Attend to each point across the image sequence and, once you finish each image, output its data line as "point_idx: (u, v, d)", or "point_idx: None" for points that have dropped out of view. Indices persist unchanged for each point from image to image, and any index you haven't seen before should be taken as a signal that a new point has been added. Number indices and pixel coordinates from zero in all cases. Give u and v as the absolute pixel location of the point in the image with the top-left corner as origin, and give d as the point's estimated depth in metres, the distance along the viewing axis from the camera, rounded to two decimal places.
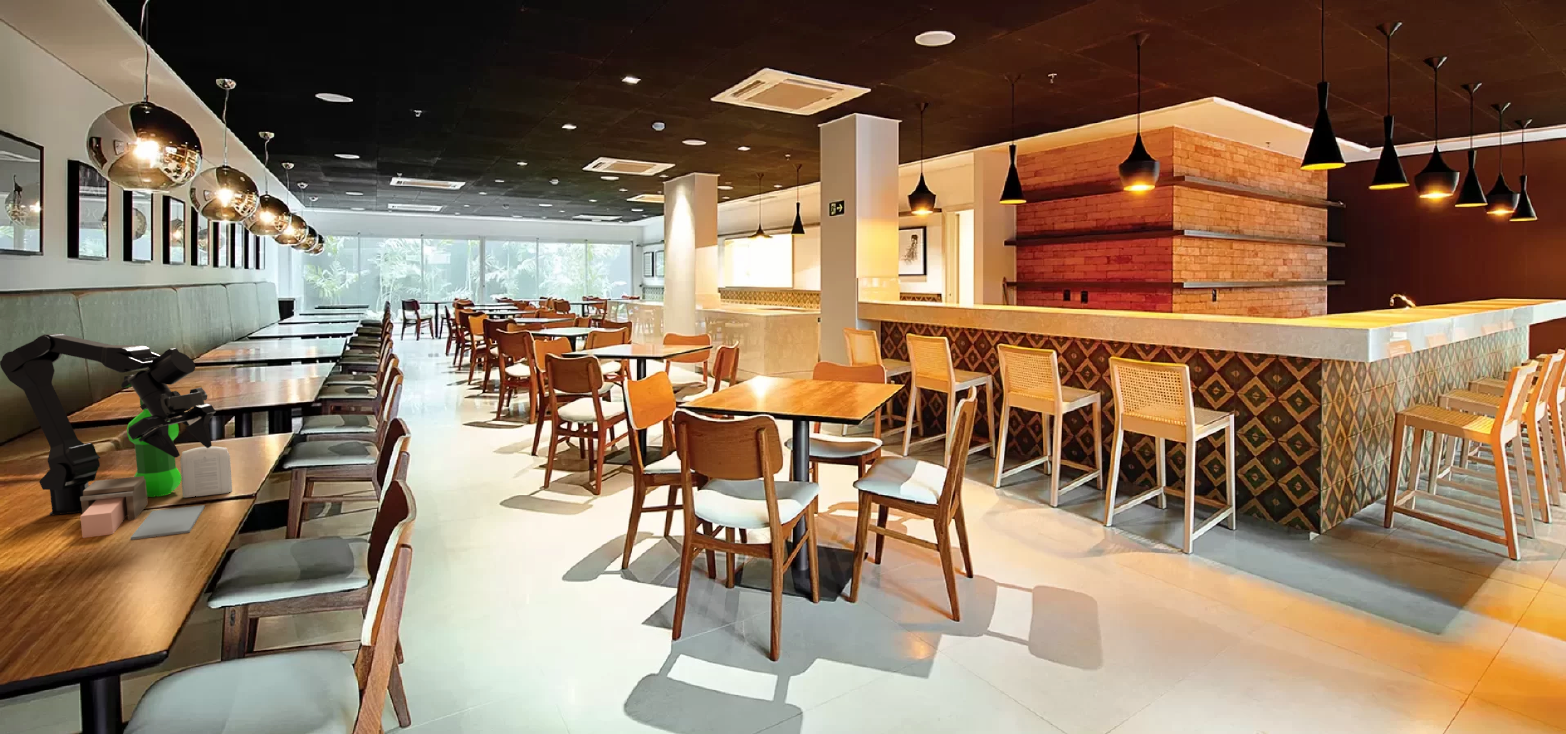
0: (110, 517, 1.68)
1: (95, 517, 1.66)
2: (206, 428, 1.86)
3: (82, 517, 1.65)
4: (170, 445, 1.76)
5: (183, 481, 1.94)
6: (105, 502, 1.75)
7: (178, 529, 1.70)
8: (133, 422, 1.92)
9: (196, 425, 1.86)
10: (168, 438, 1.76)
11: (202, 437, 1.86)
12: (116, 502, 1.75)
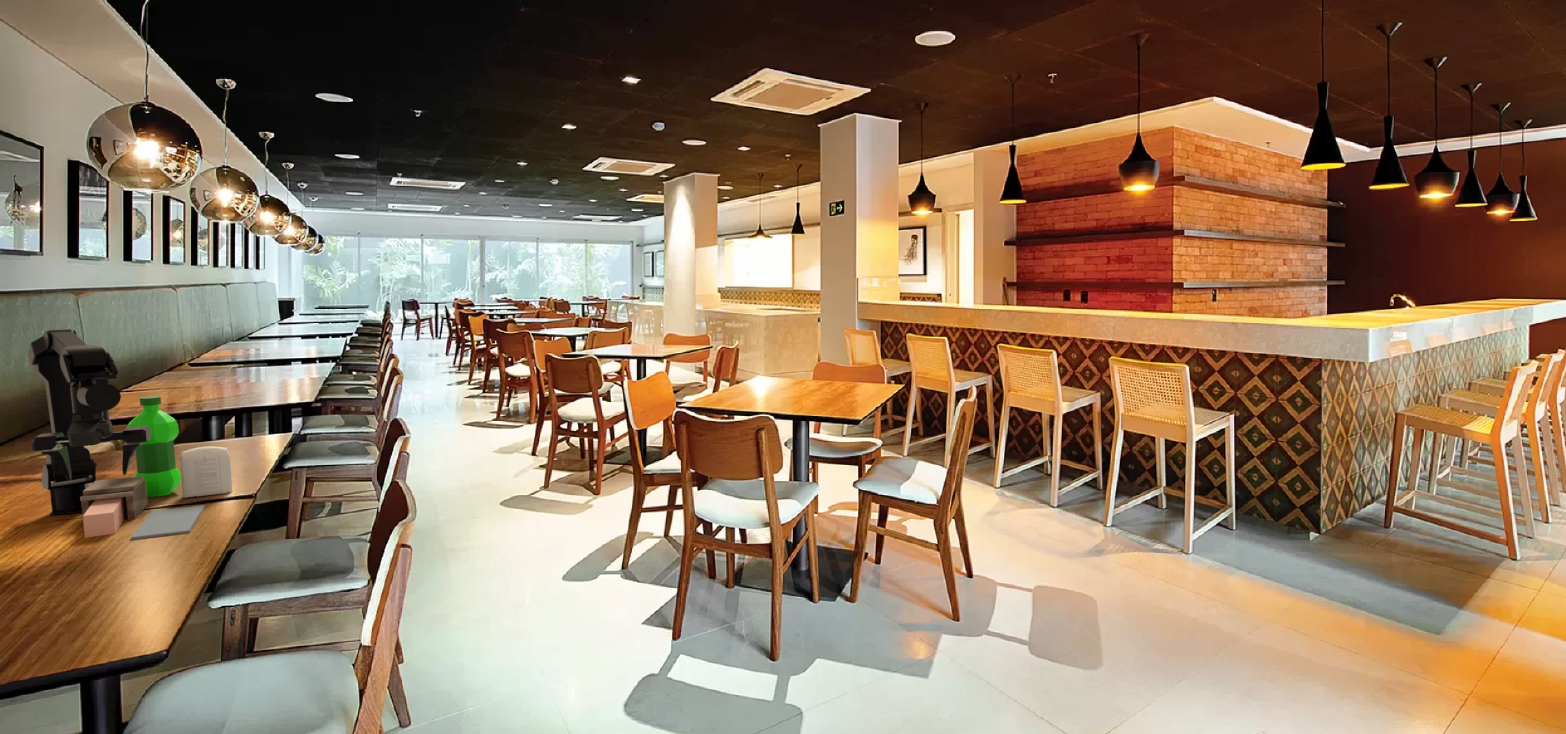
0: (113, 517, 1.68)
1: (97, 517, 1.67)
2: (126, 456, 1.70)
3: (84, 517, 1.65)
4: (62, 468, 1.65)
5: (183, 481, 1.94)
6: (104, 502, 1.75)
7: (178, 529, 1.70)
8: (133, 422, 1.92)
9: None
10: (61, 461, 1.64)
11: None
12: (116, 502, 1.75)
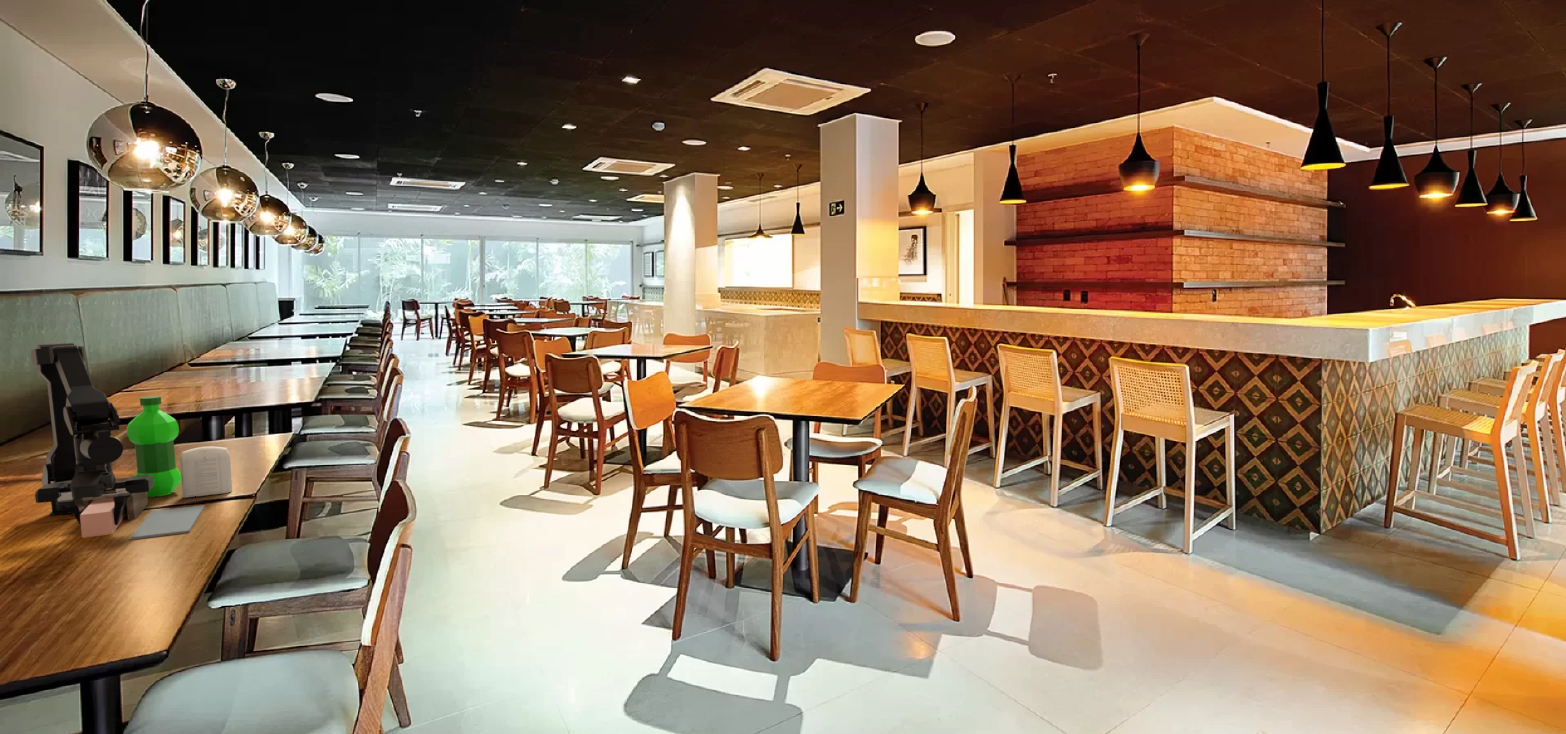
0: (110, 516, 1.68)
1: (94, 516, 1.66)
2: (117, 506, 1.70)
3: (81, 516, 1.65)
4: (77, 517, 1.67)
5: (183, 481, 1.94)
6: (104, 501, 1.75)
7: (178, 529, 1.70)
8: (133, 422, 1.92)
9: None
10: (76, 511, 1.67)
11: None
12: None
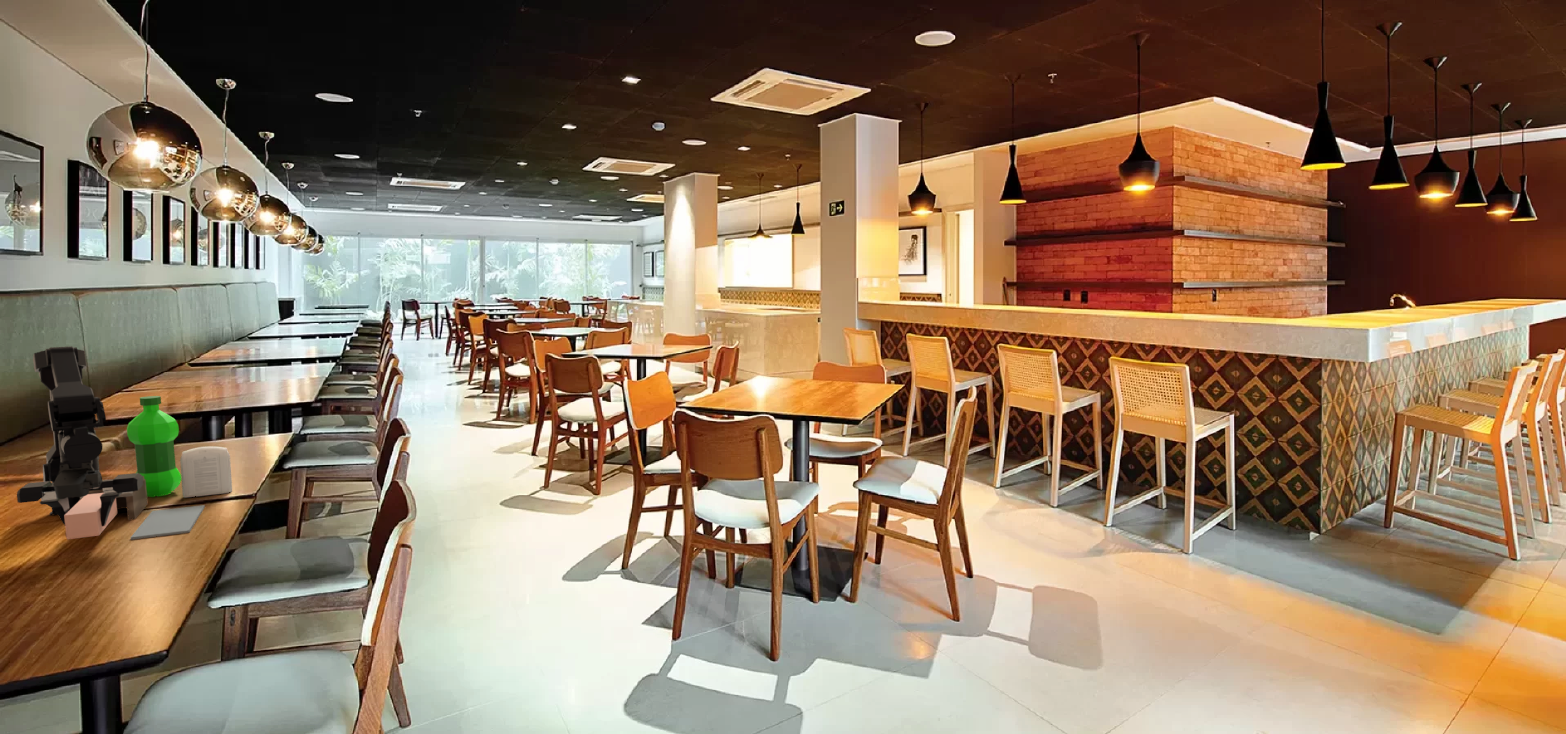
0: (96, 516, 1.59)
1: (79, 516, 1.58)
2: (104, 506, 1.61)
3: (66, 516, 1.57)
4: (61, 518, 1.58)
5: (183, 481, 1.94)
6: (91, 501, 1.66)
7: (178, 529, 1.70)
8: (133, 422, 1.92)
9: None
10: (60, 511, 1.58)
11: None
12: None
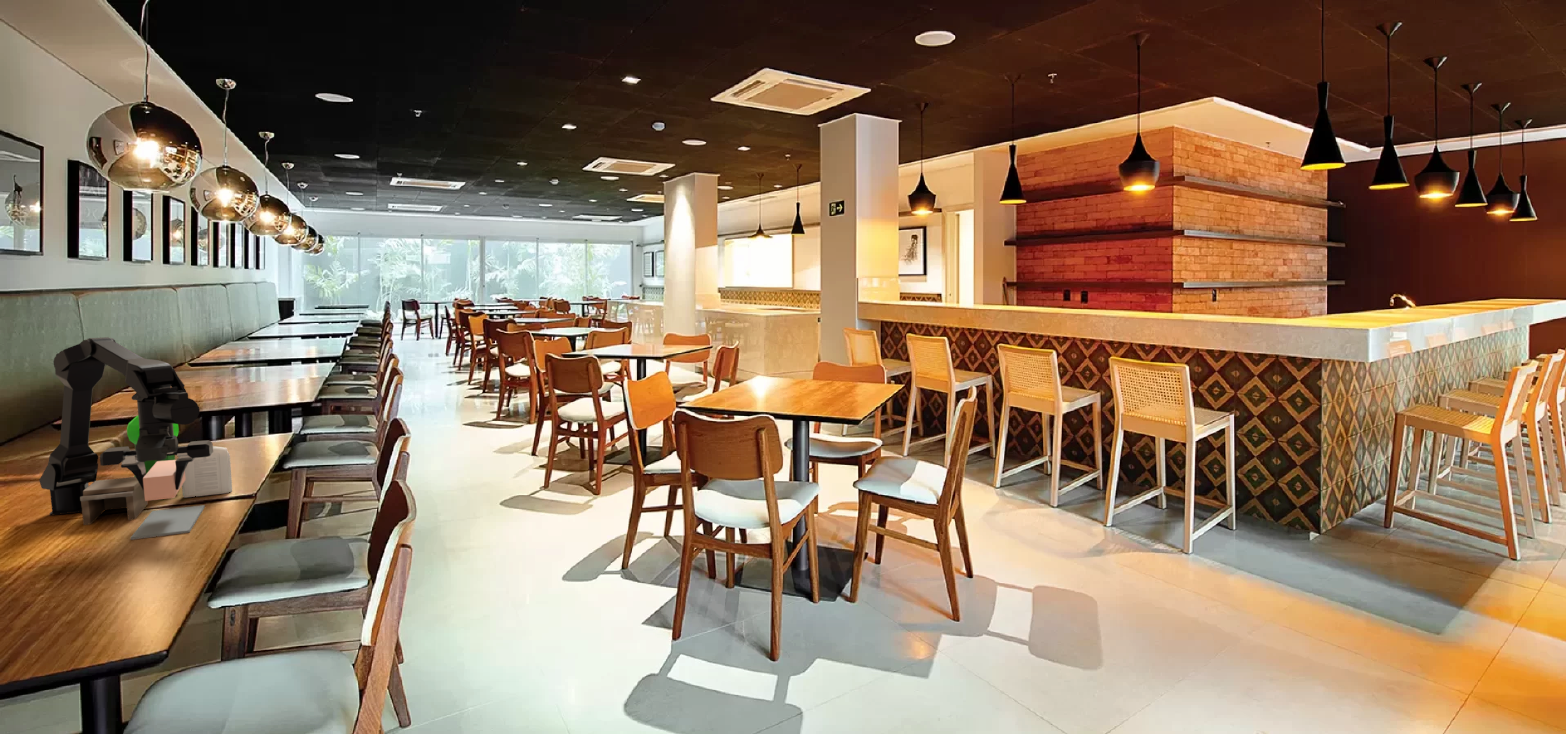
0: (171, 480, 1.69)
1: (157, 479, 1.67)
2: (179, 471, 1.71)
3: (144, 479, 1.66)
4: (139, 481, 1.68)
5: None
6: (164, 466, 1.76)
7: (178, 529, 1.70)
8: (133, 422, 1.92)
9: None
10: (139, 474, 1.68)
11: None
12: (175, 466, 1.76)
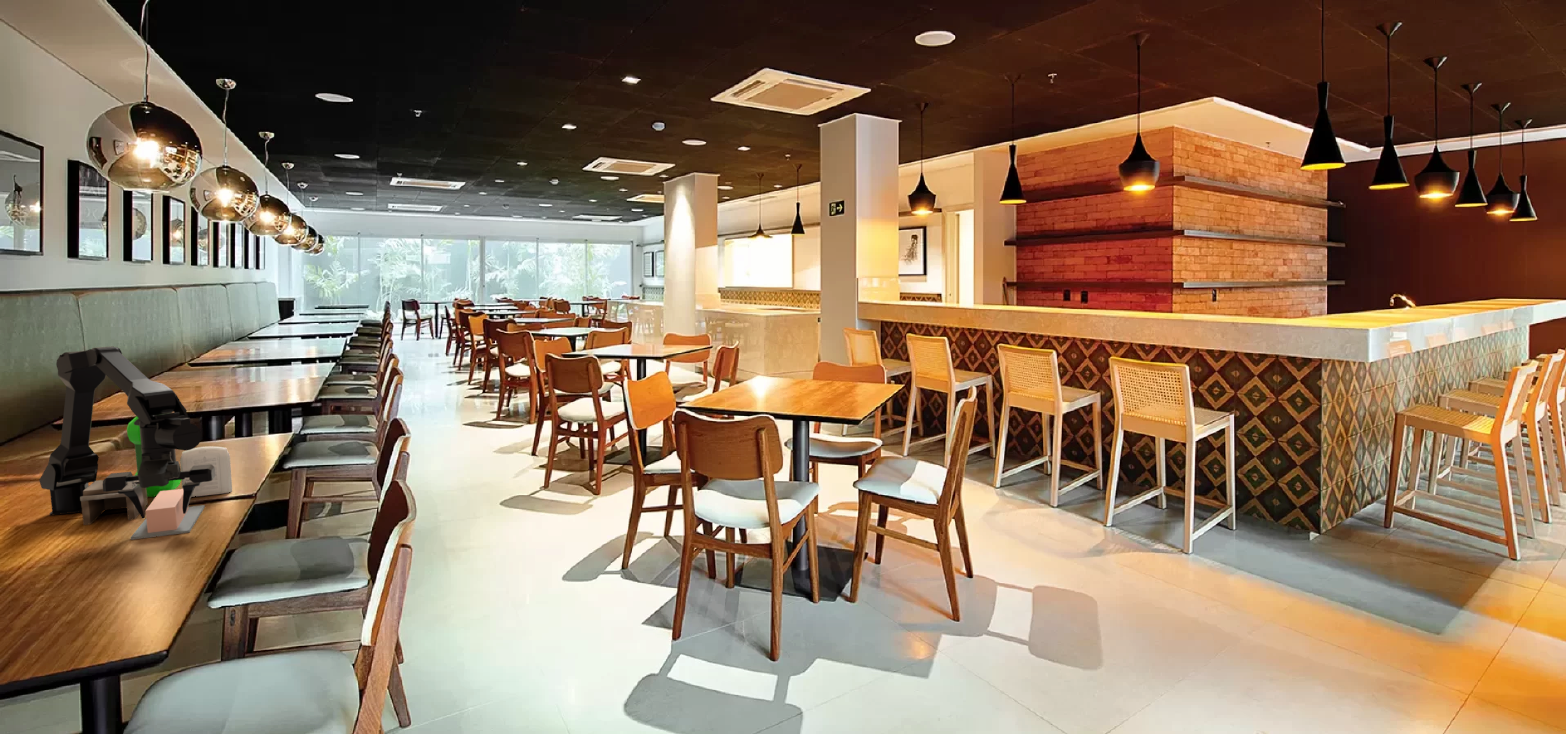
0: (174, 511, 1.69)
1: (159, 511, 1.68)
2: (186, 495, 1.72)
3: (147, 511, 1.67)
4: (136, 507, 1.68)
5: (183, 481, 1.94)
6: (167, 497, 1.77)
7: (178, 529, 1.70)
8: (133, 422, 1.92)
9: None
10: (136, 500, 1.68)
11: None
12: (178, 497, 1.77)
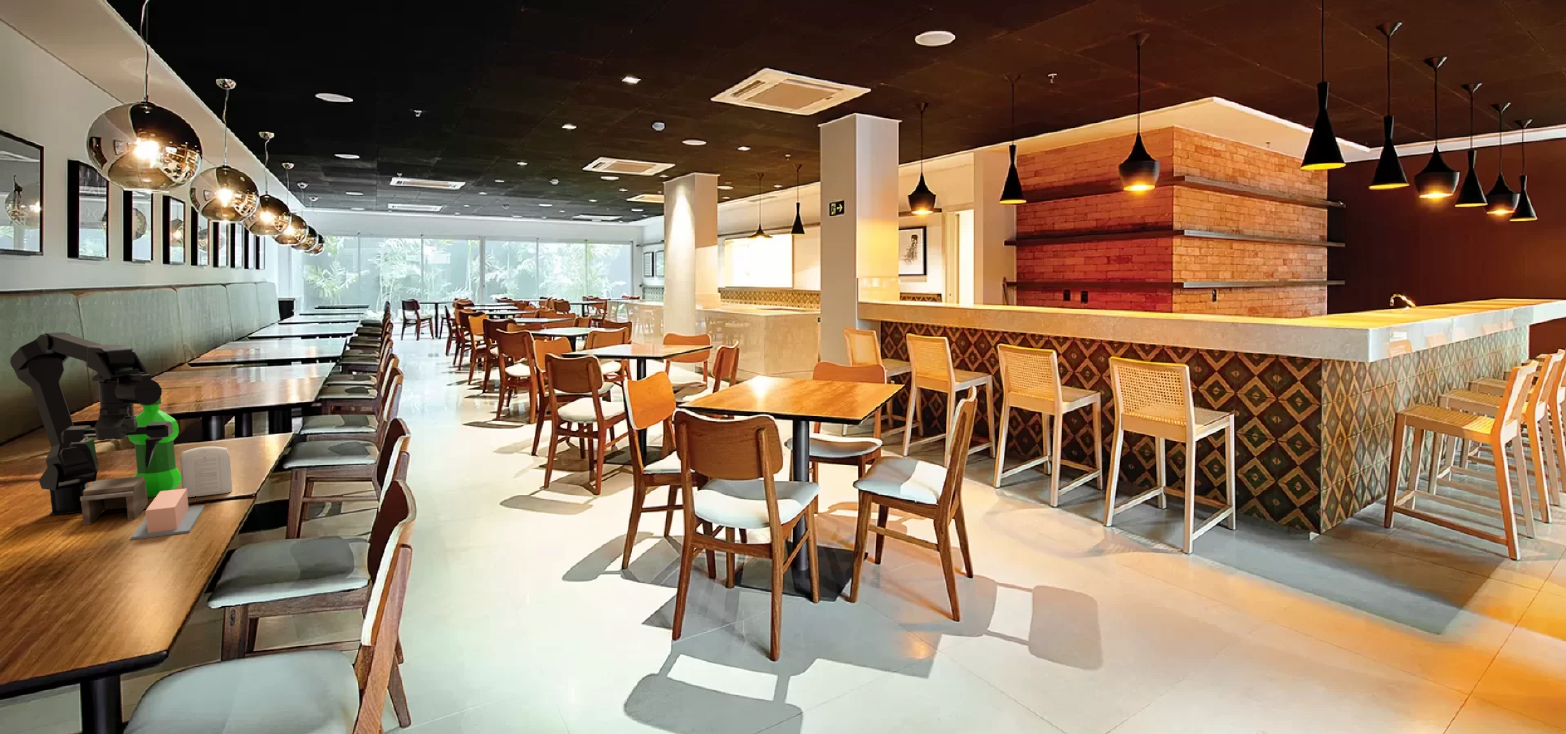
0: (174, 511, 1.69)
1: (159, 511, 1.68)
2: (149, 449, 1.79)
3: (147, 511, 1.67)
4: (88, 460, 1.74)
5: (183, 481, 1.94)
6: (167, 497, 1.77)
7: (178, 529, 1.70)
8: None
9: None
10: (88, 453, 1.74)
11: None
12: (178, 497, 1.77)
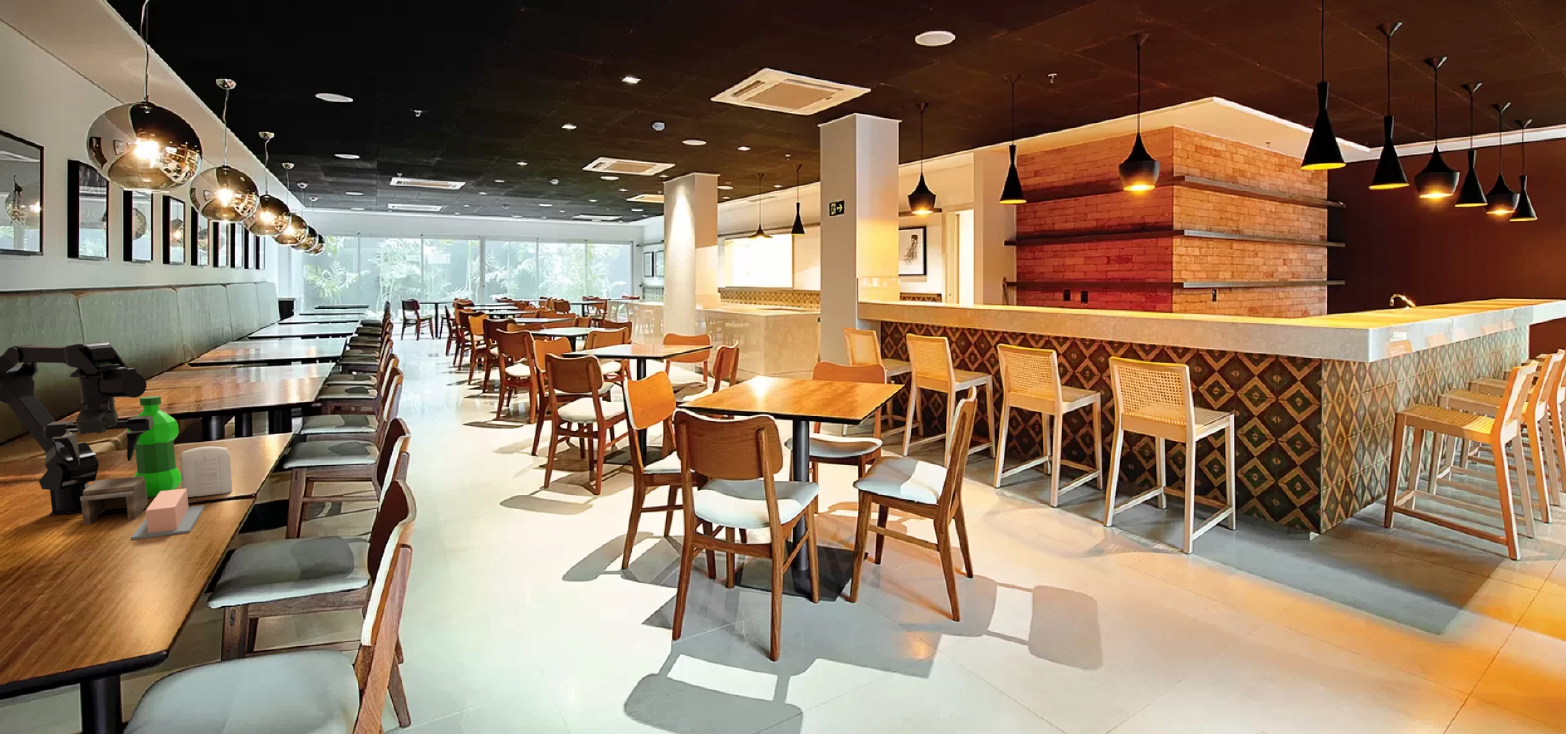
0: (174, 511, 1.69)
1: (159, 511, 1.68)
2: (130, 443, 1.82)
3: (147, 511, 1.67)
4: (71, 454, 1.78)
5: (183, 481, 1.94)
6: (167, 497, 1.77)
7: (178, 529, 1.70)
8: None
9: None
10: (70, 448, 1.77)
11: None
12: (178, 497, 1.77)
